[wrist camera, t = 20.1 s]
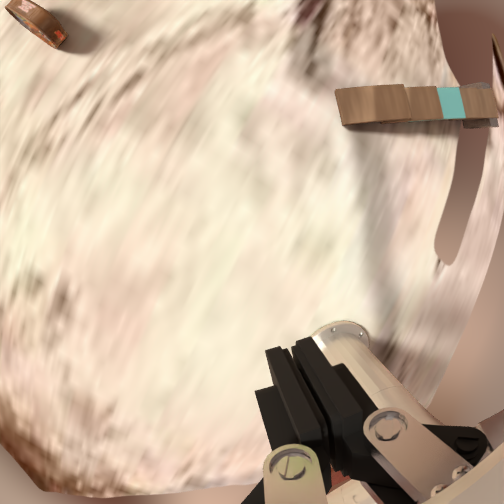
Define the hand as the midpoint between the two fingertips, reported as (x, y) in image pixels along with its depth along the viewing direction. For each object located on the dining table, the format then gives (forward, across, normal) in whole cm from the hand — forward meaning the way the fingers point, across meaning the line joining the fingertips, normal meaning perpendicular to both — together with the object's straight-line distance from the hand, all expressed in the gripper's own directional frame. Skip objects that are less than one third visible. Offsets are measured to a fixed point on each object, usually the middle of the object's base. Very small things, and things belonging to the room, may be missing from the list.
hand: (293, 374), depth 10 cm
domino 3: (+28, -31, -13) cm, 44 cm away
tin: (+29, +20, -38) cm, 52 cm away
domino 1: (+28, -18, -13) cm, 36 cm away
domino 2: (+28, -25, -13) cm, 40 cm away
